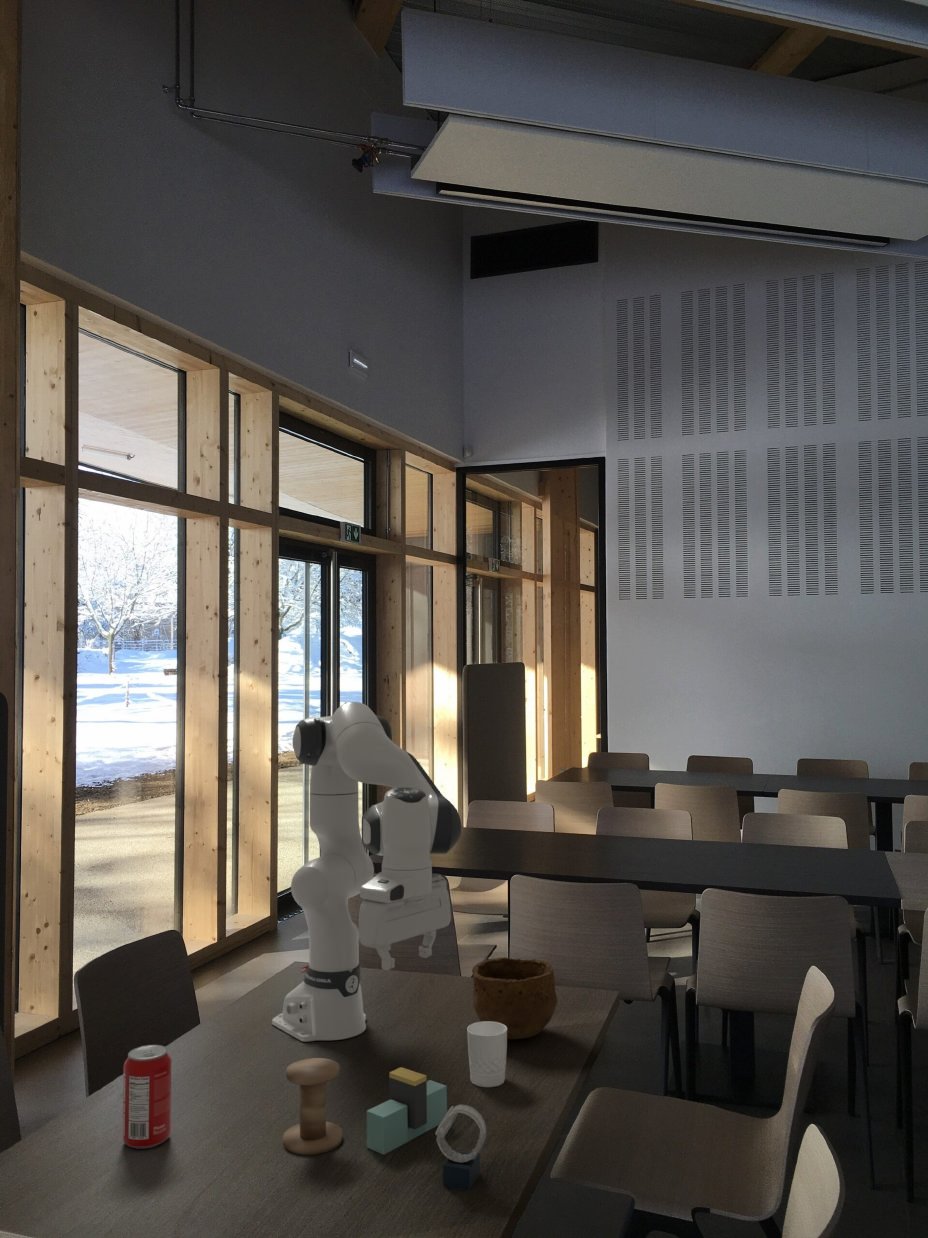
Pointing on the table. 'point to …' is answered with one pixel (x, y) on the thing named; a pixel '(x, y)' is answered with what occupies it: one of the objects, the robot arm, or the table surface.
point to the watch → (460, 1151)
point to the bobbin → (312, 1108)
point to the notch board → (403, 1120)
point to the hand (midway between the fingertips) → (407, 962)
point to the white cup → (487, 1053)
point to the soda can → (147, 1097)
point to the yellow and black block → (410, 1094)
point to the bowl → (515, 994)
